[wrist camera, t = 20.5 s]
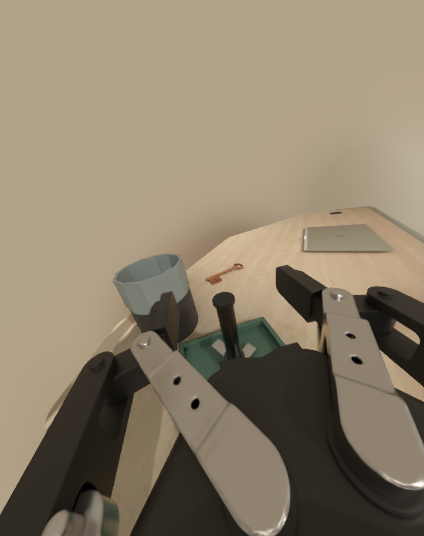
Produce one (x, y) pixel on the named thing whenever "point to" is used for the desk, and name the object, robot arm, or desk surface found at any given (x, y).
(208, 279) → the key
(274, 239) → the desk surface
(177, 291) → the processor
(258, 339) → the tray
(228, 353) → the blade
